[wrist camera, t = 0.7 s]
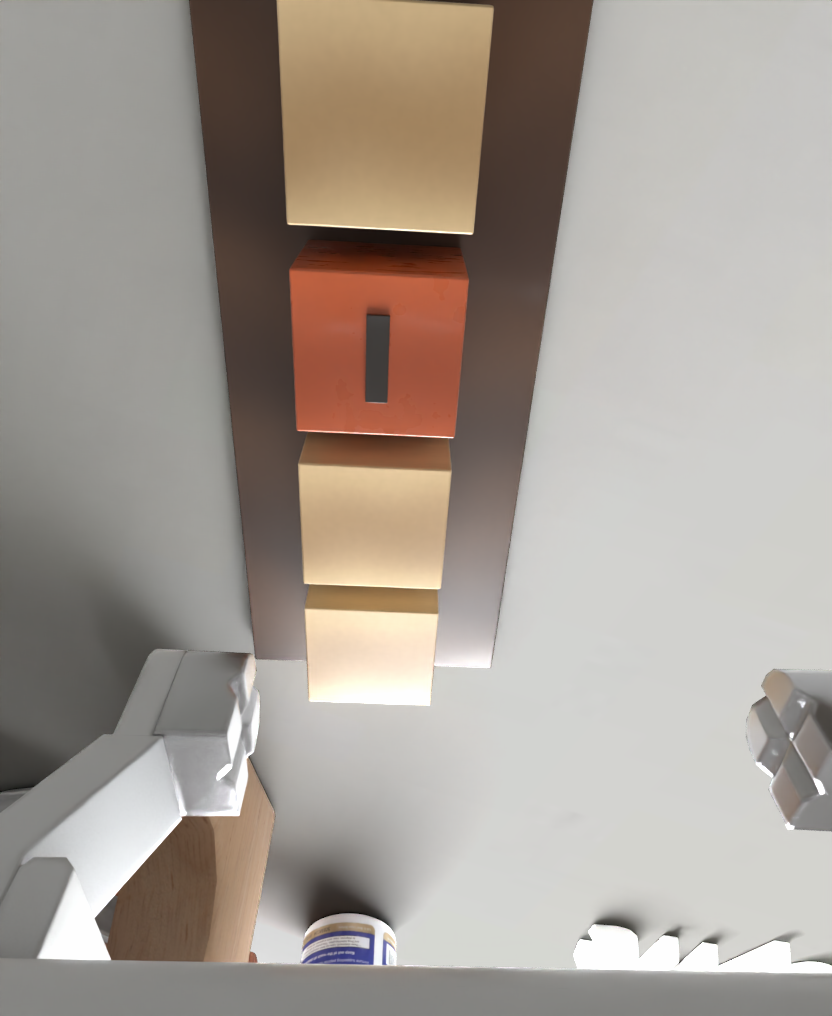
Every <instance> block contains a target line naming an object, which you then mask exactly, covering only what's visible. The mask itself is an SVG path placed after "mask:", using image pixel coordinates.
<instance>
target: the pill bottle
mask: <svg viewBox="0 0 832 1016" xmlns="http://www.w3.org/2000/svg"><path fill="white" fill-rule="evenodd" d="M301 964H356V965H396V938H395V935H394V933H393V931H392V930H391V928H390V927H389V926H388V925H387V924H385V923H384V922H382V921H380V920H378V919H376V918H373V917H370V916H367V915H362V914H352V913H344V914H336V915H331V916H328V917H325V918H322V919H320V920H318V921H317V922H315V923H314V924H312V925H311V926H310V927H309V929H308V930H307V932H306V934H305V936H304V941H303V947H302V956H301Z"/></svg>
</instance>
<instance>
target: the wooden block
mask: <svg viewBox="0 0 832 1016" xmlns="http://www.w3.org/2000/svg"><path fill="white" fill-rule="evenodd" d="M246 761H247V768H248V781H247V785H246V789H245V793H244V797H243V802H242V806H241V810H240V814H239V816H181V818H182V820H181V821H180V822H179V823H178V824H177V826H176V827H175V828H174V829H173V830H172V831H171V832H170V833H169V835H168V836H167V837H166V838H165V839H164V840H163V841H162V842H161V844H160V845H159V846H158V847H157V848H156V849H155V850H154V851H153V853H152V854H151V855H150V856H149V857H148V858H147V859H146V860H145V862H144V863H143V864H142V865H141V866H140V867H139V868H138V869H137V871H136V872H135V873H134V874H133V875H132V876H131V877H130V878H129V880H128V881H127V882H126V883H125V884H124V885H123V886H122V887H121V889H120V890H119V893H118V898H117V902H116V907H115V911H114V916H113V920H112V925H111V929H110V934H109V938H108V943H107V946H106V948H107V951H108V953H109V956H110V958H111V960H133V961H189V962H244V963H248V959H249V954H250V949H251V944H252V939H253V933H254V928H255V923H256V918H257V913H258V907H259V902H260V897H261V891H262V886H263V880H264V875H265V870H266V864H267V859H268V853H269V848H270V842H271V837H272V831H273V826H274V820H275V812H274V810H273V807H272V805H271V803H270V801H269V799H268V797H267V795H266V793H265V791H264V789H263V787H262V785H261V782H260V780H259V778H258V776H257V774H256V772H255V770H254V768H253V766H252V764H251V762H250V759H249V757H247V758H246Z"/></svg>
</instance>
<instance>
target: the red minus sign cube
mask: <svg viewBox="0 0 832 1016" xmlns="http://www.w3.org/2000/svg"><path fill="white" fill-rule="evenodd" d="M289 280H290V302H291V324H292V346H293V368H294V390H295V411H296V429H297V431H309V432H330V433H352V434H373V435H394V436H416V437H437V438H454V436H455V429H456V418H457V407H458V396H459V385H460V374H461V363H462V352H463V342H464V331H465V320H466V309H467V298H468V287H469V278H468V274H467V270H466V266H465V262H464V258H463V254H462V250H461V249H460V248H453V247H435V246H417V245H398V244H380V243H362V242H343V241H325V240H308V241H307V242H306V244H305V245H304V247H303V249H302V250H301V252H300V253H299V255H298V256H297V258H296V259H295V261H294V263H293V264H292V266H291V267H290V269H289Z"/></svg>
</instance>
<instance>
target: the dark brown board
mask: <svg viewBox="0 0 832 1016" xmlns="http://www.w3.org/2000/svg"><path fill="white" fill-rule="evenodd" d="M189 5H190V15H191V25H192V35H193V45H194V55H195V65H196V75H197V84H198V94H199V104H200V114H201V124H202V134H203V144H204V154H205V164H206V174H207V184H208V194H209V203H210V213H211V223H212V233H213V243H214V253H215V263H216V273H217V283H218V293H219V303H220V313H221V322H222V332H223V342H224V352H225V362H226V372H227V382H228V392H229V402H230V412H231V422H232V432H233V441H234V451H235V461H236V471H237V481H238V491H239V501H240V511H241V521H242V531H243V541H244V551H245V560H246V570H247V580H248V590H249V600H250V610H251V620H252V630H253V640H254V650H255V658H256V659H264V660H291V661H307V677H308V699H309V701H320V702H348V703H376V704H404V705H430V703H431V692H432V682H433V671H434V666H451V667H478V668H491V664H492V658H493V651H494V645H495V638H496V632H497V625H498V619H499V612H500V606H501V599H502V593H503V586H504V580H505V573H506V567H507V560H508V554H509V547H510V541H511V534H512V528H513V521H514V514H515V508H516V501H517V495H518V488H519V482H520V475H521V469H522V462H523V456H524V449H525V443H526V436H527V430H528V423H529V417H530V410H531V404H532V397H533V391H534V384H535V378H536V371H537V365H538V358H539V352H540V345H541V339H542V332H543V325H544V319H545V312H546V306H547V299H548V293H549V286H550V280H551V273H552V267H553V260H554V254H555V247H556V241H557V234H558V228H559V221H560V215H561V208H562V202H563V195H564V189H565V182H566V176H567V169H568V163H569V156H570V150H571V143H572V136H573V130H574V123H575V117H576V110H577V104H578V97H579V91H580V84H581V78H582V71H583V65H584V58H585V52H586V45H587V39H588V32H589V26H590V19H591V13H592V6H593V0H189ZM308 240H325V241H343V242H362V243H380V244H398V245H417V246H435V247H453V248H460V249H461V250H462V254H463V258H464V262H465V266H466V270H467V274H468V278H469V287H468V298H467V309H466V320H465V331H464V342H463V352H462V363H461V374H460V385H459V396H458V407H457V418H456V429H455V436H454V438H437V437H416V436H394V435H373V434H352V433H330V432H309V431H297V429H296V411H295V390H294V368H293V346H292V324H291V302H290V280H289V269H290V267H291V266H292V264H293V263H294V261H295V259H296V258H297V256H298V255H299V253H300V252H301V250H302V249H303V247H304V245H305V244H306V242H307V241H308Z"/></svg>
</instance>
